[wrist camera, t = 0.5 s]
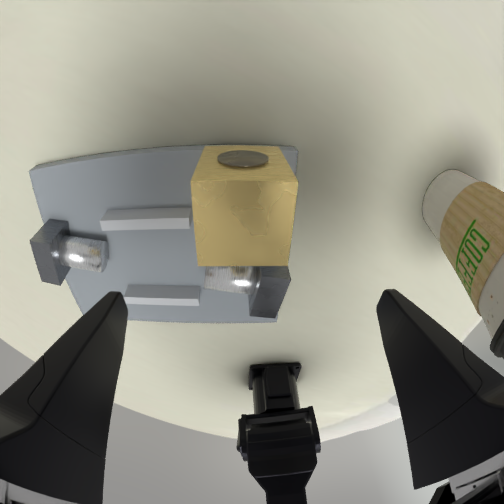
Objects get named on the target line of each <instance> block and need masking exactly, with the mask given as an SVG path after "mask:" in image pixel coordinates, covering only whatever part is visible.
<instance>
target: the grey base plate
mask: <svg viewBox="0 0 504 504" xmlns="http://www.w3.org/2000/svg"><path fill="white" fill-rule="evenodd" d="M205 146H222V145H192V146H173V147H158V148H146V149H136V150H126V151H118V152H110V153H102V154H95V155H89V156H83V157H77V158H71V159H65V160H60V161H55V162H50V163H46V164H41V165H37V166H35V167H34V168H32V169H31V170H30V171H29V174H30V178H31V182H32V186H33V190H34V193H35V197H36V201H37V204H38V207H39V211H40V214H41V217H42V220H43V223H44V224H45V223H46V222H47V221H48V220H49V219H56V220H64V221H68V223H69V229H70V235H71V236H75V237H81V238H88V239H95V240H101V241H106V242H107V243H108V246H109V258H108V263H107V266H106V269H105V270H104V272H96V271H90V270H85V269H79V268H74V267H71V269H70V270H69V272H68V274H67V275H66V277H65V279H66V281H67V283H68V286H69V288H70V290H71V292H72V294H73V296H74V298H75V300H76V302H77V304H78V306H79V308H80V310H81V312H82V314H83V315H84V314H85V313H86V312H87V311H88V310H89V309H91V308H92V307H93V306H94V305H95V304H96V303H97V302H98V301H99V300H100V299H101V298H103V297H104V296H105V295H106V294H107V293H108V292H110V291H119V292H121V293H122V294H123V297H124V300H125V303H126V305H127V308H128V319H127V320H137V321H156V322H183V323H265V322H277V317H278V313H277V316H276V318H263V317H253V316H249V302H248V294H243V293H234V292H226V291H218V290H210V289H203V287H204V279H205V271H206V266H198V263H197V253H196V243H195V233H194V221H193V209H192V196H191V179H192V176H193V174H194V171H195V169H196V166H197V164H198V161H199V159H200V157H201V154H202V152H203V149H204V147H205ZM244 146H274V145H244ZM279 148H280V150H281V152H282V153H283V155H284V157H285V159H286V160H287V162H288V164H289V166H290V168H291V169H292V171H293V173H294V175H295V177H296V167H297V157H298V151H297V149H296V148H295V147H294V146H279Z"/></svg>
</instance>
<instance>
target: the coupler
mask: <svg viewBox="0 0 504 504" xmlns="http://www.w3.org/2000/svg"><path fill="white" fill-rule="evenodd" d="M297 189H298V181H297V179H296V177H295V175H294V173H293V171H292V169H291V168H290V166H289V164H288V162H287V160H286V159H285V157H284V155H283V153H282V152H281V150H280V148H279V146H244V145H222V146H205V147H204V149H203V152H202V154H201V157H200V159H199V161H198V164H197V166H196V169H195V171H194V174H193V176H192V179H191V196H192V209H193V221H194V233H195V243H196V253H197V263H198V266H288V260H289V252H290V245H291V238H292V230H293V222H294V214H295V206H296V198H297Z"/></svg>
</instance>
